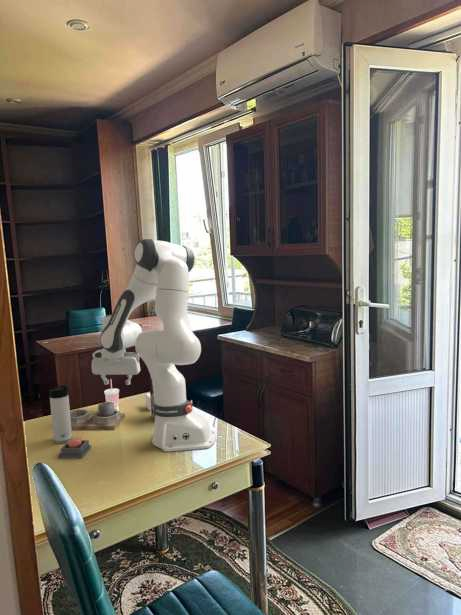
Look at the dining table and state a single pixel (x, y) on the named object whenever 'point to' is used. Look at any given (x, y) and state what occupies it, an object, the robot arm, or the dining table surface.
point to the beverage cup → (112, 396)
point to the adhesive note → (148, 401)
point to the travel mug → (60, 414)
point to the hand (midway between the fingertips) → (117, 384)
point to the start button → (74, 442)
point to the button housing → (75, 450)
